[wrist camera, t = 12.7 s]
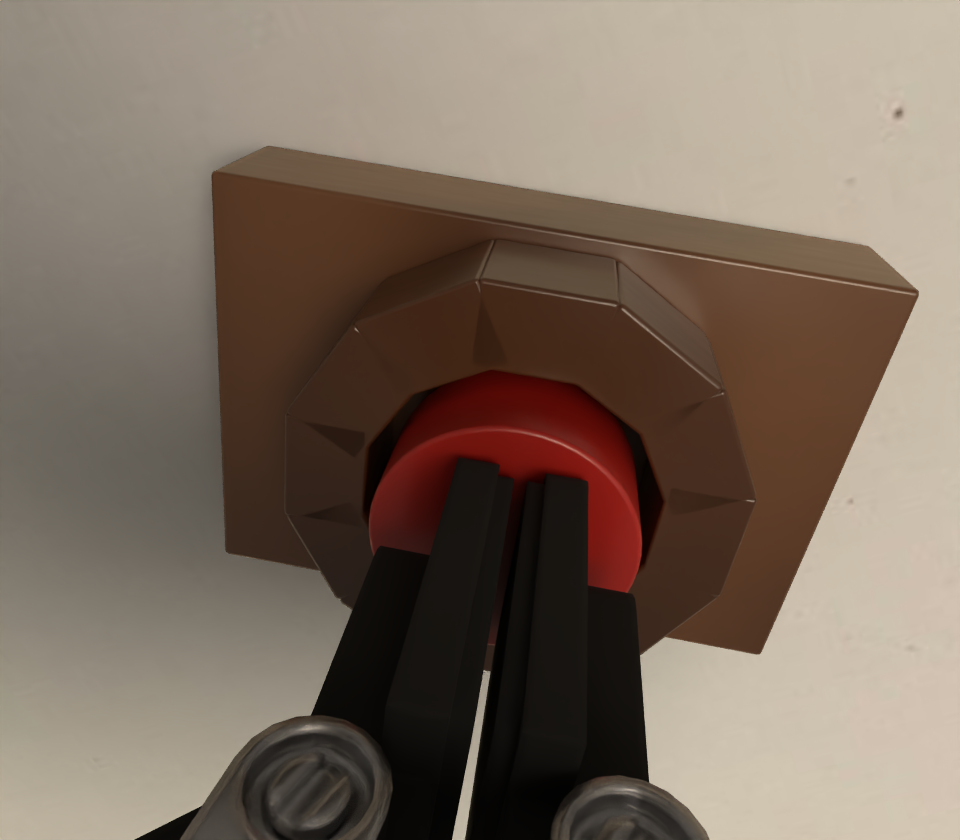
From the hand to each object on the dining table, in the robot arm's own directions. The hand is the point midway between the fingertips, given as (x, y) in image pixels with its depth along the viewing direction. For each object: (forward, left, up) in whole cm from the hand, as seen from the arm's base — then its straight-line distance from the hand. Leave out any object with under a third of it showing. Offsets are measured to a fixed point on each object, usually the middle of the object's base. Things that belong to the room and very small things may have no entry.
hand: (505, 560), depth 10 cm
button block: (0, 0, -5) cm, 5 cm away
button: (0, 0, -2) cm, 2 cm away
